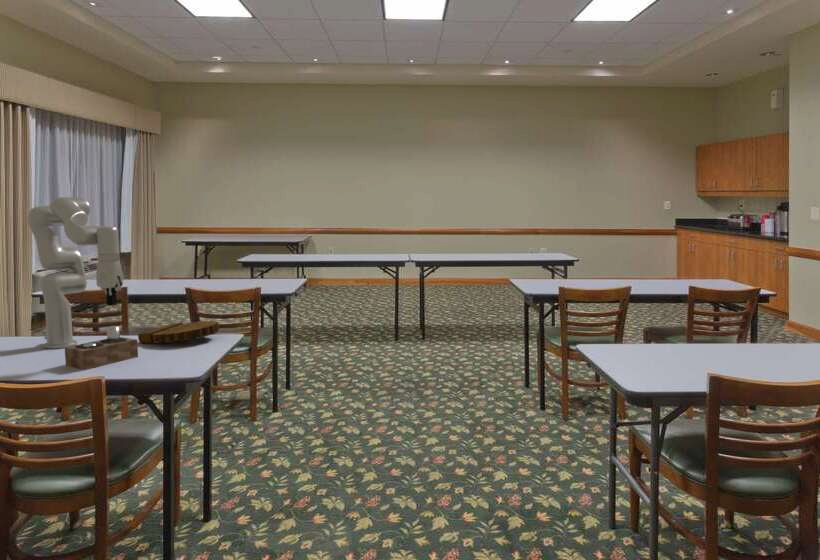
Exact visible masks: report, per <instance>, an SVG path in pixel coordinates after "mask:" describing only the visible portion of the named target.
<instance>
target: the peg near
mask: <svg viewBox="0 0 820 560" xmlns="http://www.w3.org/2000/svg"><path fill="white" fill-rule="evenodd" d="M86 343H87V344H84V343H82V344H83V346H86V347H89V346H93V345H96V343H89V342H86Z"/></svg>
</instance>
